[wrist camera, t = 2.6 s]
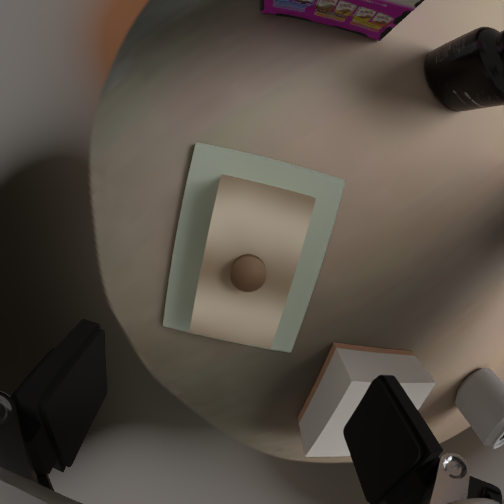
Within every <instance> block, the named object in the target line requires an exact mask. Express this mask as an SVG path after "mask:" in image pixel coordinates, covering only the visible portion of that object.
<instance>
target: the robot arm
mask: <svg viewBox="0 0 504 504" xmlns="http://www.w3.org/2000/svg"><path fill="white" fill-rule="evenodd" d="M106 394H107V378H106V360H105V333H104V330H102V329H101V328H100V325H99V324H98V323H95V322H92V321H89V320H86V319H83V320H81V321H80V322H79V324H77V325H76V327H75V328H74V329H73V330H72V331H71V332H70V333H69V334H68V335H67V336H66V337H65V338H64V339H63V341H62V342H61V343H60V344H59V345H58V346H57V347H56V348H53V349H52V350H51V351H49V353H48V354H47V355H46V356H45V357H44V358H43V359H42V360H41V362H40V363H39V364H38V365H37V366H36V367H35V368H34V369H33V371H32V372H31V373H30V374H29V375H28V376H27V377H26V379H25V380H24V381H23V382H22V384H21V385H20V386H19V387H18V388H17V389H16V391H15V392H14V393H13V394H12V395H11V397H10V396H8V395H7V394H5V393H3V392H1V391H0V504H82V503H79V502H77V501H75V500H72V499H70V498H68V497H65V496H63V495H61V494H59V493H57V492H55V491H54V489H53V486H52V484H51V481H50V478H49V475H48V474H49V473H50V472H51V470H52V468H55V469H57V470H59V471H61V472H64V470H65V467H66V466H67V467H71V465H72V464H73V462H74V460H75V457H76V455H77V453H78V451H79V449H80V447H81V445H82V443H83V441H84V439H85V437H86V434H87V432H88V430H89V428H90V426H91V424H92V422H93V420H94V418H95V416H96V414H97V412H98V411H99V409H100V406H101V405H102V403H103V401H104V399H105V397H106ZM343 435H344V438H345V441H346V444H347V446H348V449H349V452H350V455H351V458H352V460H353V463H354V466H355V469H356V472H357V475H358V478H359V481H360V483H361V486H362V489H363V492H364V495H365V498H366V500H367V501H368V502H369V503H370V504H504V500H502V495H501V491H500V489H499V488H498V487H496V486H494V485H492V484H490V483H487V482H484V481H481V480H479V479H477V478H474V477H471V476H470V468H469V465H468V463H467V462H466V461H465V459H464V458H462V457H461V456H459V455H457V454H454V453H448V454H445V455H444V456H443V457H442V458H441V459H440V458H439V457H438V456H439V455H440V453H441V452H442V451H443V449H442V448H441V446H440V444H439V443H438V441H437V440H436V438H435V436H434V435H433V433H432V432H431V430H430V429H429V427H428V425H427V424H426V422H425V421H424V419H423V418H422V416H421V415H420V413H419V412H418V410H417V408H416V407H415V405H414V404H413V402H412V401H411V399H410V398H409V396H408V395H407V393H406V392H405V390H404V389H403V387H402V386H401V385H400V383H399V382H398V380H397V379H396V377H395V376H393V375H379V376H378V377H377V378H376V379H374V380H373V381H372V382H371V384H370V386H369V388H368V389H367V391H366V393H365V395H364V396H363V398H362V400H361V401H360V403H359V405H358V406H357V408H356V409H355V411H354V413H353V414H352V416H351V417H350V419H349V420H348V422H347V423H346V425H345V427H344V429H343Z"/></svg>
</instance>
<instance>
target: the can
mask: <svg viewBox="0 0 504 504" xmlns="http://www.w3.org/2000/svg"><path fill="white" fill-rule="evenodd" d="M455 405H456V406H457V408H458V409H459V410H460V412H461V413H462V414H463V416H464V417H465V418H466V420H467V421H468V422H469V424H470V425H471V427H472V428H473V429H474V431H475V432H476V433H477V435H478V436H479V438H480V439H481V441H482V442H483V443H484V445H485V446H493V447H492V448H493V449H495V448H498V447H499V446H501V445H503V443H504V382H503V381H502V380H501V379H500V378H499V377H498V376H497V375H496V374H495V373H494V372H493V371H492V370H491V369H490V368H483V369H479V370H476V371H475V372H473V373H472V374H471V375H469V376H468V377H467V378H466V379H465V380H464V382H463V383H462V384H461V386H460V387H459V389H458V391H457V395H456V400H455Z"/></svg>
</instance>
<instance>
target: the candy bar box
mask: <svg viewBox="0 0 504 504" xmlns="http://www.w3.org/2000/svg"><path fill="white" fill-rule="evenodd" d="M423 1H424V0H260V12H261V13H266V14H274V15H280V16H287V17H293V18H298V19H303V20H308V21H313V22H317V23H322V24H326V25H330V26H334V27H338V28H341V29H345V30H348V31H351V32H354V33H358V34H361V35H364V36H367V37H370V38H373V39H375V40H378V41H380V40H381V39H382V38H383V37H384V36H386V35H387V34H388V33H389V32H390V31H391V30H392V29H393V28H394V27H395V26H396V25H397V24H398V23H399V22H401V21H402V20H403V19H404V18H405V17H406V16H407V15H408V14H409V13H410V12H412V11H413V10H414V9H415V8H417V6H418V5H419V4H421V3H422V2H423Z"/></svg>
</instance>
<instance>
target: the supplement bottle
mask: <svg viewBox="0 0 504 504" xmlns="http://www.w3.org/2000/svg"><path fill="white" fill-rule="evenodd" d="M425 75H426V78H427V81H428V84H429V86H430V88H431V90H432V92H433V93H434V95H435V96H436V97H437V98H438V100H439V101H440V102H441V103H443V104H444V105H445V106H446V107H448V108H450V109H452V110H455V111H468V110H474V109H480V108H486V107H493V106H500V105H504V31H501V32H499V31H497V30H495V29H493V28H490V27H480V28H477V29H475V30H473V31H471V32H469V33H467V34H464V35H462V36H460V37H458V38H456V39H454V40H452V41H450V42H448V43H446V44H444V45H442V46H440V47H438V48H436V49H435V50H433V51H431V52H430V53H429V54H428V56H427V57H426V60H425Z"/></svg>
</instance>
